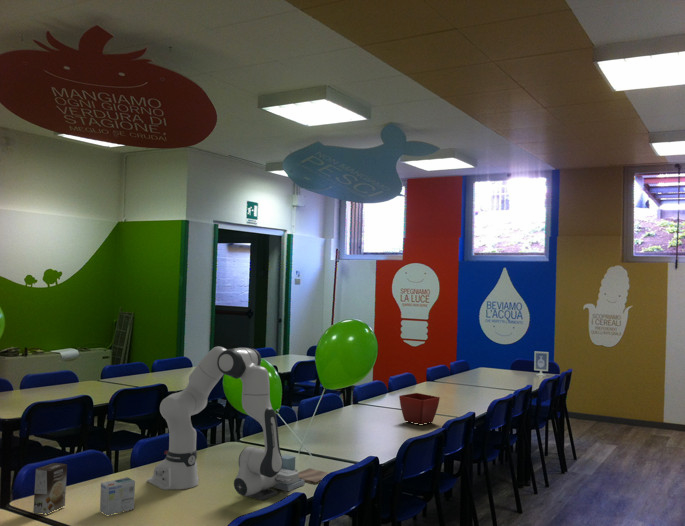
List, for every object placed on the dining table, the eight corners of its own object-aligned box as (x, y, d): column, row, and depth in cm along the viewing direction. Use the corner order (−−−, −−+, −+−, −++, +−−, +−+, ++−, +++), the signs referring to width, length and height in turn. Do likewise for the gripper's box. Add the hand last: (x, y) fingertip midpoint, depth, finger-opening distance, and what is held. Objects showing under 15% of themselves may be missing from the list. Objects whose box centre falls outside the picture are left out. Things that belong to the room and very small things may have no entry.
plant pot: (439, 423, 391) (440, 396, 392) (422, 427, 377) (422, 400, 378) (415, 418, 404) (416, 392, 405) (397, 422, 390) (398, 395, 391)
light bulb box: (126, 505, 233) (127, 476, 233) (134, 510, 228) (136, 480, 229) (98, 511, 225) (100, 482, 226) (106, 517, 221) (107, 486, 221)
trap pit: (245, 495, 247) (245, 492, 247) (260, 490, 254) (260, 486, 254) (262, 500, 242) (262, 496, 242) (276, 494, 249) (277, 490, 249)
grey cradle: (267, 485, 260) (268, 481, 260) (284, 479, 269) (284, 474, 269) (288, 491, 254) (288, 486, 254) (304, 484, 263) (304, 479, 263)
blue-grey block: (277, 485, 261) (278, 457, 261) (285, 482, 265) (286, 454, 265) (287, 488, 258) (288, 459, 258) (294, 485, 262) (295, 456, 263)
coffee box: (47, 516, 220) (49, 470, 220) (32, 513, 222) (34, 468, 222) (65, 507, 229) (67, 464, 229) (51, 505, 230) (53, 462, 231)
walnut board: (290, 477, 272) (290, 475, 272) (309, 470, 283) (309, 468, 283) (315, 484, 264) (315, 481, 264) (334, 476, 275) (334, 474, 275)
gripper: (286, 474, 245) (307, 466, 257) (248, 464, 257) (270, 457, 268) (286, 490, 245) (307, 481, 256) (248, 480, 256) (269, 472, 268)
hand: (288, 469), depth 262 cm, fingers open, 7 cm apart
